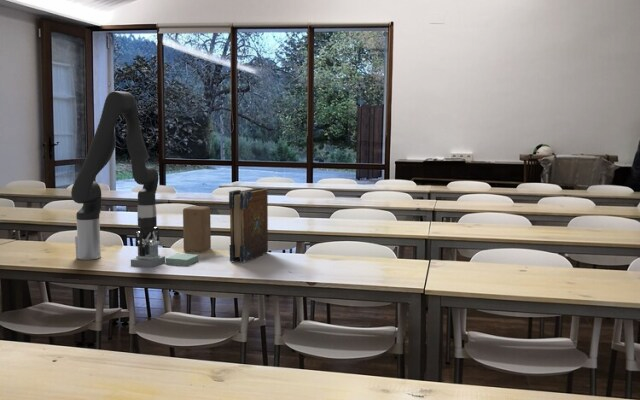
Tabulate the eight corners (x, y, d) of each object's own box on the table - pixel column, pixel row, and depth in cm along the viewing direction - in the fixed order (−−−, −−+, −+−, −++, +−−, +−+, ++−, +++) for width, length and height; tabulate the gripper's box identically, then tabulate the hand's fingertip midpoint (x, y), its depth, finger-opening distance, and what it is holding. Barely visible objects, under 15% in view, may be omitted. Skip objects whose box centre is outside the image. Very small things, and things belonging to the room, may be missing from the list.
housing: (136, 258, 248) (135, 241, 247) (142, 256, 253) (142, 239, 252) (153, 259, 246) (153, 243, 245) (159, 257, 251) (159, 240, 250)
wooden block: (203, 252, 273) (202, 209, 270) (182, 251, 275) (182, 208, 272) (211, 248, 283) (211, 206, 280) (191, 247, 285) (191, 205, 282)
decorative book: (244, 263, 253) (243, 192, 249) (229, 261, 256) (228, 191, 252) (270, 252, 274) (270, 187, 271) (256, 251, 277) (256, 186, 274)
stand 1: (130, 265, 246) (130, 259, 246) (144, 260, 256) (144, 254, 256) (152, 267, 244) (152, 261, 243) (165, 262, 253) (165, 256, 253)
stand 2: (165, 264, 250) (165, 258, 249) (177, 259, 259) (177, 253, 259) (187, 265, 247) (187, 259, 247) (198, 260, 257) (198, 254, 256)
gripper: (148, 212, 255) (149, 250, 257) (129, 217, 242) (130, 257, 243) (164, 213, 253) (165, 251, 255) (145, 218, 240) (146, 258, 241)
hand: (148, 254), depth 249 cm, fingers open, 8 cm apart
